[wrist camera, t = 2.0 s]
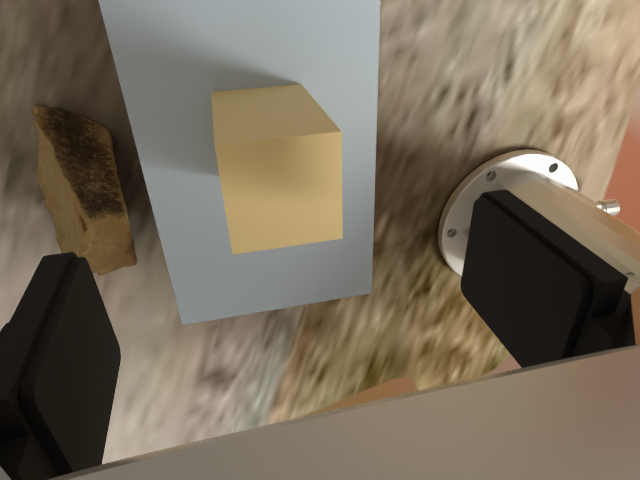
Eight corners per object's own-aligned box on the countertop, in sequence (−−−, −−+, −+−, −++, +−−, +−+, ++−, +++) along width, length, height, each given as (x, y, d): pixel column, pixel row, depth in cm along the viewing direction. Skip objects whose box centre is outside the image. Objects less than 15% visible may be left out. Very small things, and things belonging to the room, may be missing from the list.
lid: (376, -163, 17) (486, -245, 11) (366, 283, 28) (417, 381, 22) (61, -164, 15) (-46, -265, 9) (182, 314, 26) (176, 431, 20)
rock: (166, 292, 33) (212, 183, 29) (63, 355, 26) (100, 223, 21) (63, 207, 35) (89, 91, 30) (-62, 243, 28) (-54, 97, 23)
